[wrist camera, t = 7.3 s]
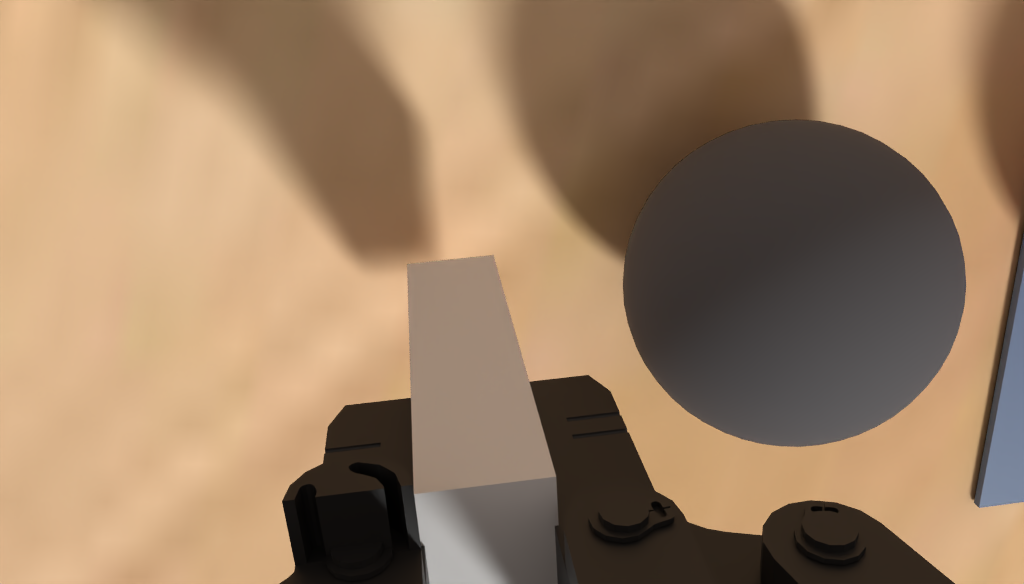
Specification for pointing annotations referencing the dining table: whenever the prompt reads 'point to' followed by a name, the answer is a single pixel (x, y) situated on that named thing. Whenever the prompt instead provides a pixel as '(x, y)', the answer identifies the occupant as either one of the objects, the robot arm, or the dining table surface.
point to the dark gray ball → (794, 283)
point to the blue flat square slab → (1007, 413)
